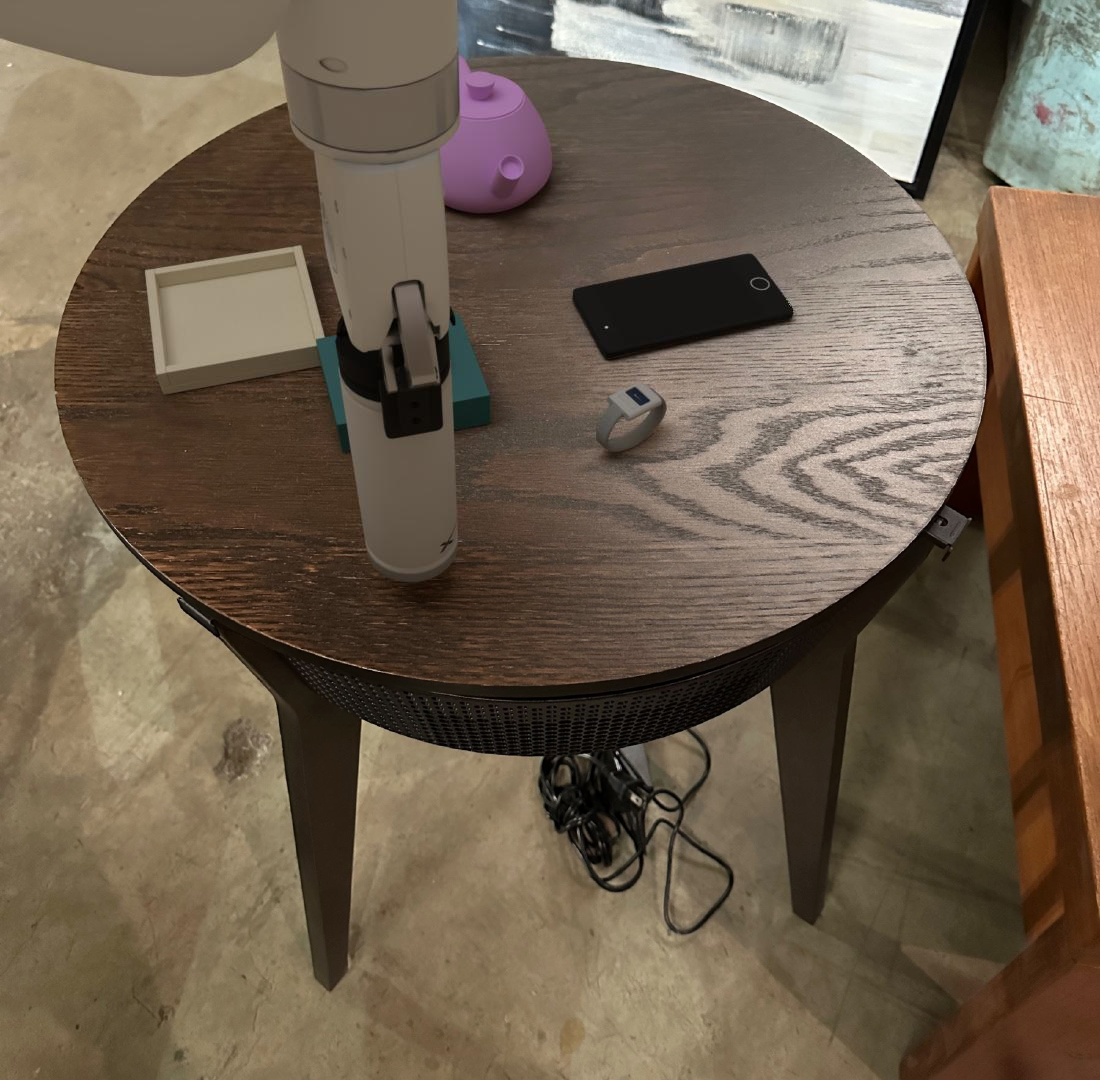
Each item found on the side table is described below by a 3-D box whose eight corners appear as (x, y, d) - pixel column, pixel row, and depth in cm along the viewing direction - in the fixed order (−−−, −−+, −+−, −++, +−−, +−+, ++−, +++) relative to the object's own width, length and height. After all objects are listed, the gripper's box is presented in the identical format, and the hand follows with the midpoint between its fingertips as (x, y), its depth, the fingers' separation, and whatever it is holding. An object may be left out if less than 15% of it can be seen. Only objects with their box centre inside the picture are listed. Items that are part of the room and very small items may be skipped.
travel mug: (475, 568, 70) (471, 341, 54) (381, 595, 68) (348, 369, 52) (446, 501, 73) (434, 270, 57) (356, 525, 71) (318, 294, 56)
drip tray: (163, 395, 84) (155, 374, 82) (152, 290, 91) (144, 269, 90) (330, 364, 86) (326, 343, 84) (305, 265, 94) (301, 244, 92)
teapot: (446, 256, 95) (439, 152, 87) (393, 141, 107) (382, 40, 98) (585, 230, 99) (591, 127, 90) (519, 121, 110) (519, 20, 101)
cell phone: (794, 319, 91) (796, 311, 90) (605, 361, 87) (605, 353, 86) (750, 259, 96) (752, 251, 95) (570, 296, 92) (570, 288, 91)
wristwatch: (609, 470, 80) (613, 425, 76) (587, 448, 81) (591, 403, 77) (669, 437, 82) (677, 391, 78) (647, 416, 84) (654, 371, 80)
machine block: (342, 453, 80) (333, 407, 76) (321, 367, 86) (312, 321, 82) (491, 423, 83) (489, 377, 79) (460, 342, 88) (458, 296, 84)
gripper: (259, 3, 49) (311, 303, 63) (319, 213, 39) (364, 514, 53) (414, -11, 51) (430, 285, 65) (509, 187, 41) (504, 486, 55)
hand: (400, 386), depth 59 cm, fingers closed on travel mug, 6 cm apart
